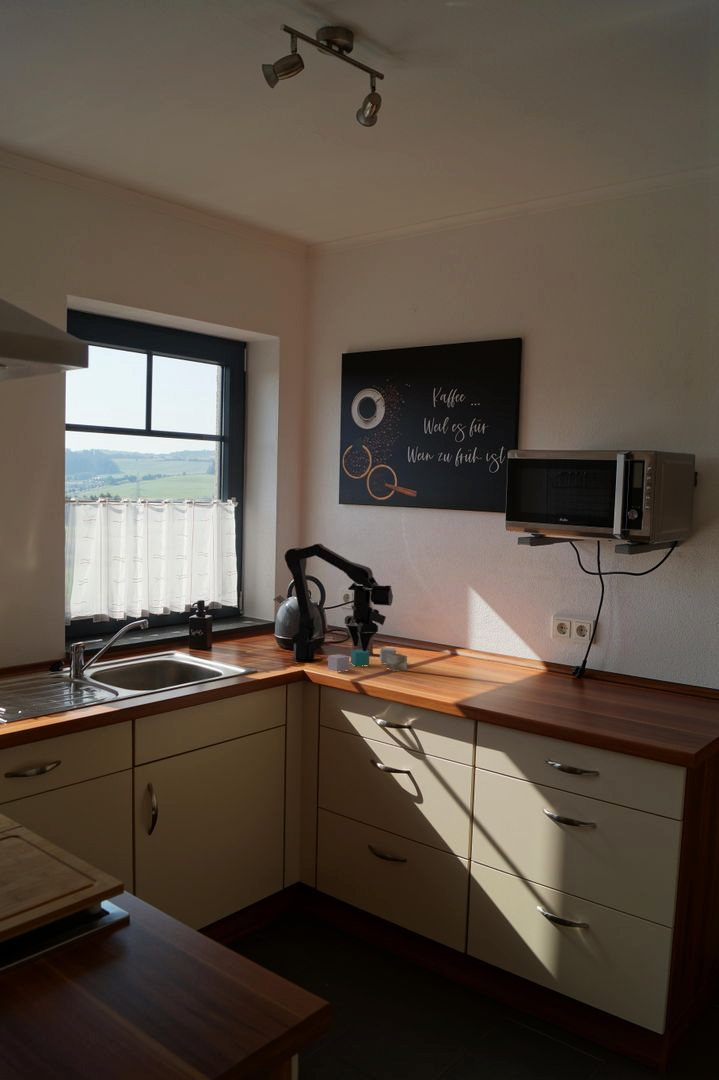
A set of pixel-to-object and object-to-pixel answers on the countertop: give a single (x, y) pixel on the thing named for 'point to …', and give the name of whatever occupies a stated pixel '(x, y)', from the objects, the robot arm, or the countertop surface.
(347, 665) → the lilac cube
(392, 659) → the grey-green cube
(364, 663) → the teal cube
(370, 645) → the brown upright block
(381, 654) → the grey cube
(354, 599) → the robot arm
